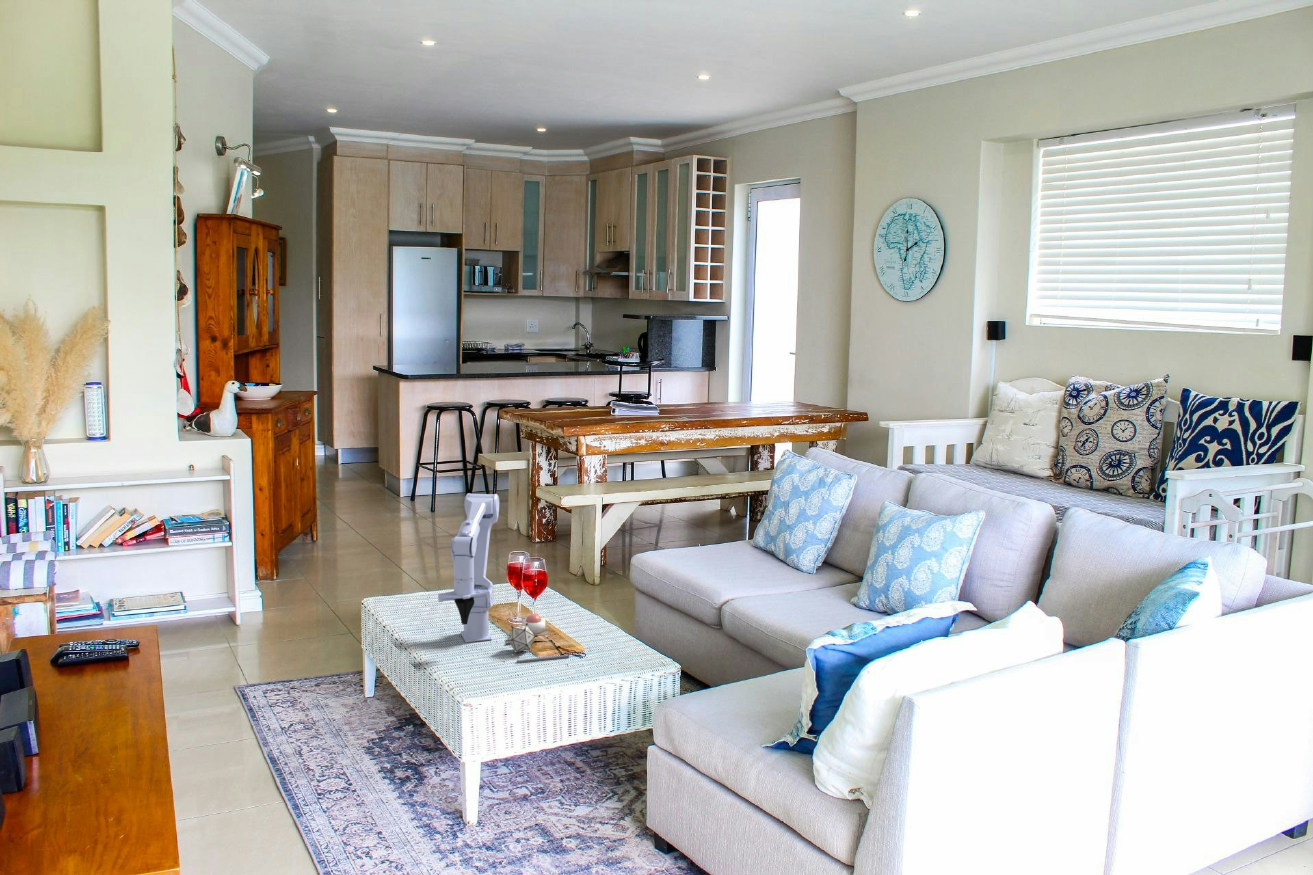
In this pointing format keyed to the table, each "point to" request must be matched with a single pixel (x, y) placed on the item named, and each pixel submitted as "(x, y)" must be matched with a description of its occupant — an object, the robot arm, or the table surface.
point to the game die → (521, 638)
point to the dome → (534, 623)
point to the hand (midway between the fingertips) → (464, 623)
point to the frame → (540, 658)
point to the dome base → (544, 632)
